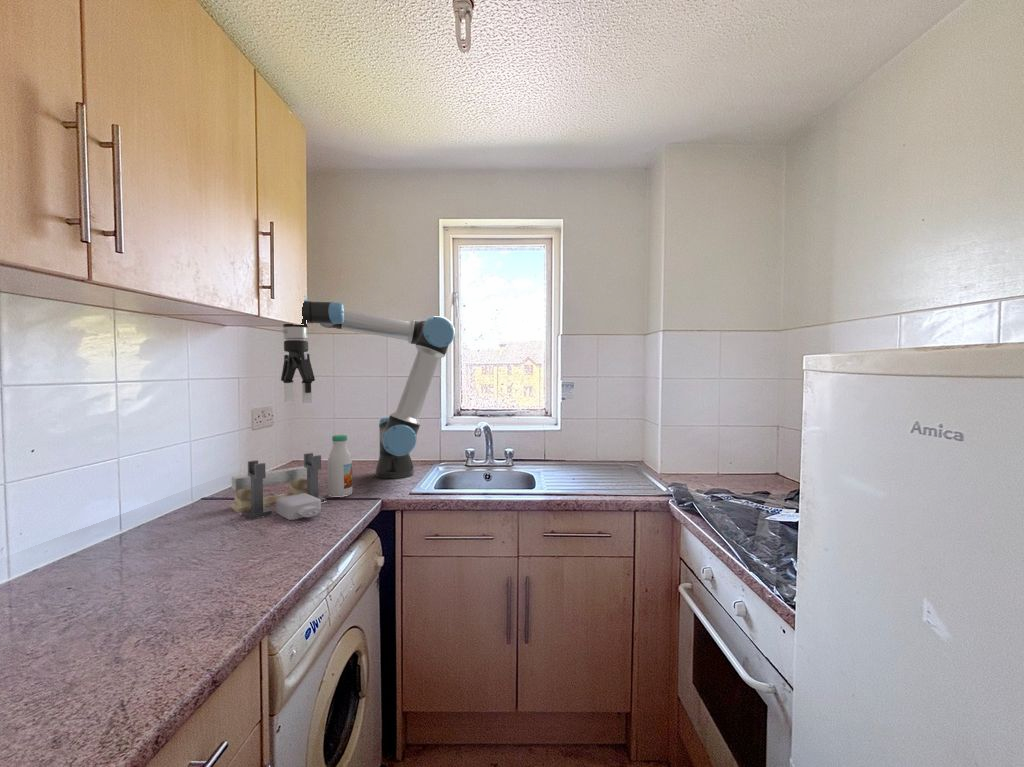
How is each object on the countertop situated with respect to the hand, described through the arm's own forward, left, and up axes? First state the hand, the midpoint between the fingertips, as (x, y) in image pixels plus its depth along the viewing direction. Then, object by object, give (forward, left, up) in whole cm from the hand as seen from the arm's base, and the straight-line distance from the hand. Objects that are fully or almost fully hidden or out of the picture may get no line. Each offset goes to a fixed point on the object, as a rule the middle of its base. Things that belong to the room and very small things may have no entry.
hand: (298, 402), depth 152 cm
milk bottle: (-7, +16, -31) cm, 35 cm away
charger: (+10, +28, -31) cm, 43 cm away
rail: (+11, +8, -25) cm, 28 cm away
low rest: (+11, +8, -31) cm, 34 cm away
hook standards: (+11, +18, -31) cm, 37 cm away
